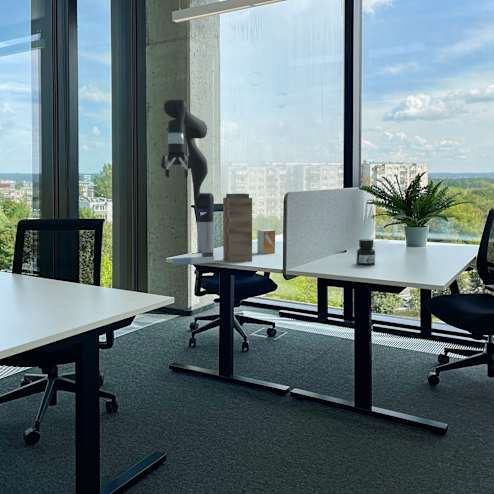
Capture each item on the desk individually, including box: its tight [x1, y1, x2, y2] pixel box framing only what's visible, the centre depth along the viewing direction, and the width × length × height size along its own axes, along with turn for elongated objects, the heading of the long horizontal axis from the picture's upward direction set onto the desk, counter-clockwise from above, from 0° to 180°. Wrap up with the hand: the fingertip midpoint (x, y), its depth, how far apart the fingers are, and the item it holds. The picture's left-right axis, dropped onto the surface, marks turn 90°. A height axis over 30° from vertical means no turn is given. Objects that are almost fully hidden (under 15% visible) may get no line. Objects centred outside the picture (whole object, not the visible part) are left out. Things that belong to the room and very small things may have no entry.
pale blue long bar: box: [171, 251, 215, 266], centre depth 269 cm, size 3×21×5 cm, turn 113°
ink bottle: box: [356, 238, 376, 266], centre depth 267 cm, size 10×9×12 cm
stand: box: [222, 193, 253, 263], centre depth 276 cm, size 10×12×34 cm
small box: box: [256, 229, 276, 255], centre depth 304 cm, size 8×6×13 cm
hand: (176, 177), depth 259 cm, fingers open, 8 cm apart
